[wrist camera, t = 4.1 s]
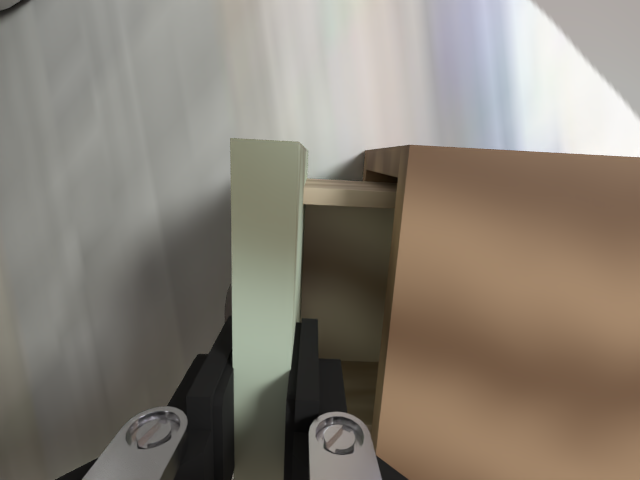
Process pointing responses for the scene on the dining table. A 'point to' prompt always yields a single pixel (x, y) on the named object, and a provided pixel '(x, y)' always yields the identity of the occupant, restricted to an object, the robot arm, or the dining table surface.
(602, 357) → the cabinet
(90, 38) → the dining table surface
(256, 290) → the drawer
